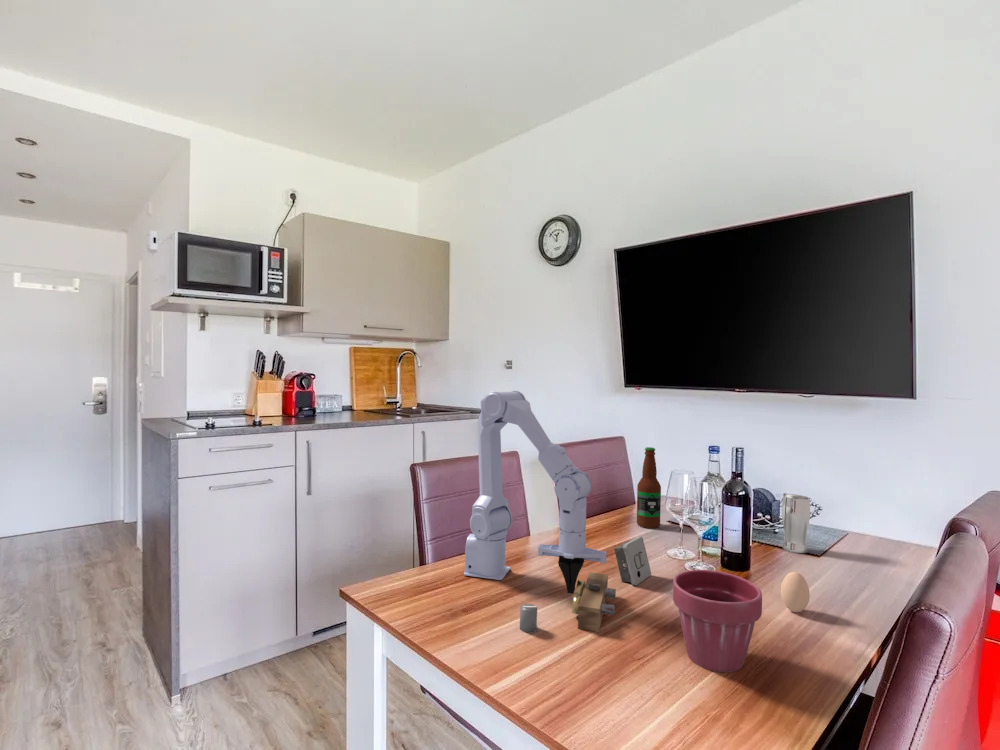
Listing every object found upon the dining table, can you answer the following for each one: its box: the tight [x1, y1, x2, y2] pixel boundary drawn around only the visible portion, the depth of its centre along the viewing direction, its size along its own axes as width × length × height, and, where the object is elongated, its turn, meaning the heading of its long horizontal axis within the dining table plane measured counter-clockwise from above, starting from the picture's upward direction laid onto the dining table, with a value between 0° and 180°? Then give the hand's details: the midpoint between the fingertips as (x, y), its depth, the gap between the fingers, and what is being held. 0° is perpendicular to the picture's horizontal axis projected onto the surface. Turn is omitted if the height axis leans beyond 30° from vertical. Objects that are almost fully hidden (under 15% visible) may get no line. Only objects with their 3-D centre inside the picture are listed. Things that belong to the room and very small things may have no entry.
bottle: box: [636, 447, 662, 530], centre depth 171 cm, size 7×7×25 cm
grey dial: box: [519, 603, 538, 634], centre depth 101 cm, size 3×3×4 cm
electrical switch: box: [613, 536, 652, 587], centre depth 127 cm, size 9×5×9 cm, turn 141°
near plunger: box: [571, 594, 616, 616], centre depth 106 cm, size 8×3×3 cm, turn 74°
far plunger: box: [575, 580, 617, 599], centre depth 113 cm, size 8×3×3 cm, turn 74°
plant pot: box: [672, 569, 763, 673], centre depth 92 cm, size 14×14×13 cm
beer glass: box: [781, 493, 811, 554], centre depth 150 cm, size 7×7×15 cm
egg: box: [780, 571, 811, 613], centre depth 111 cm, size 5×5×8 cm
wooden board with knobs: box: [577, 571, 609, 633], centre depth 110 cm, size 4×18×5 cm, turn 164°
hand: (571, 591), depth 115 cm, fingers closed
